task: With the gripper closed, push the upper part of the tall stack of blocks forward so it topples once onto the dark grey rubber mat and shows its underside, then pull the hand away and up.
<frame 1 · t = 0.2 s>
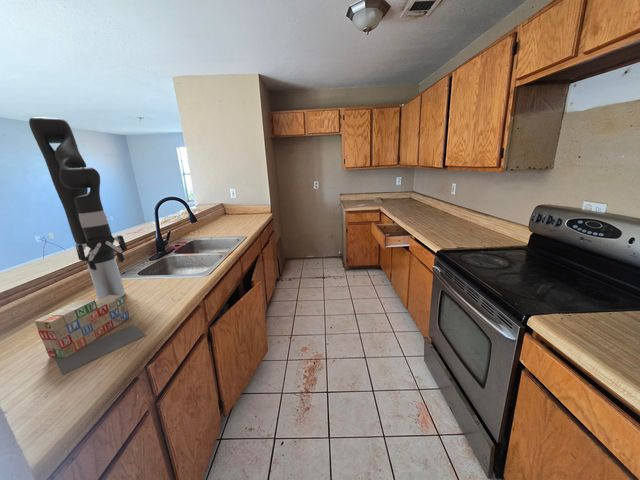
hand: (108, 265, 98), 18 cm above the counter, tool pointing down, fingers open, 8 cm apart
stack of blocks: (94, 336, 86), on the counter, touching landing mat
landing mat: (102, 346, 80), on the counter
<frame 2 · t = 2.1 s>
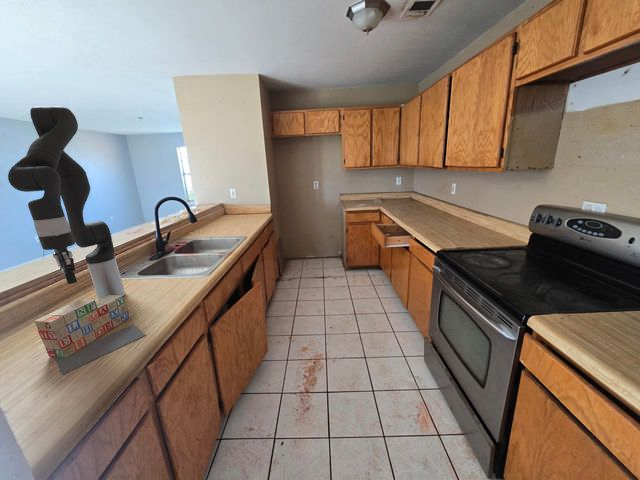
hand: (72, 282, 86), 17 cm above the counter, tool pointing down, fingers closed
nothing on the counter moved.
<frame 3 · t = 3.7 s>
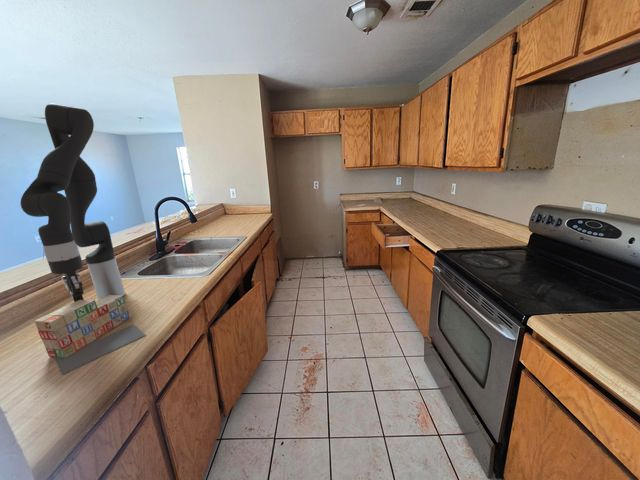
hand: (80, 305, 86), 10 cm above the counter, tool pointing down, fingers closed
stack of blocks: (94, 336, 86), on the counter, touching gripper, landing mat
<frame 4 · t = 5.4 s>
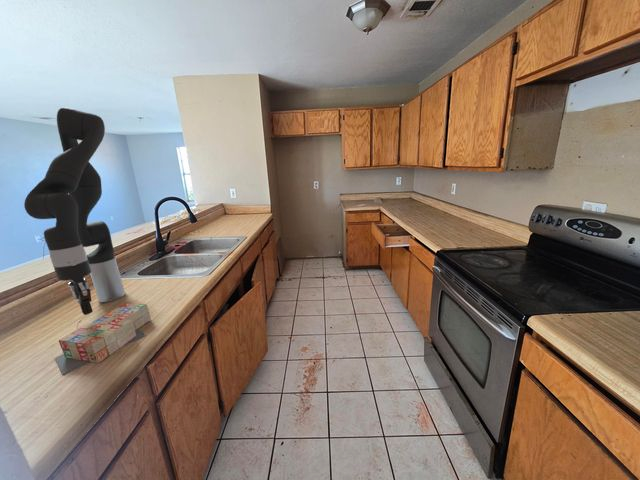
hand: (88, 313, 81), 10 cm above the counter, tool pointing down, fingers closed
stack of blocks: (98, 327, 84), point 3 cm above the counter, touching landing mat
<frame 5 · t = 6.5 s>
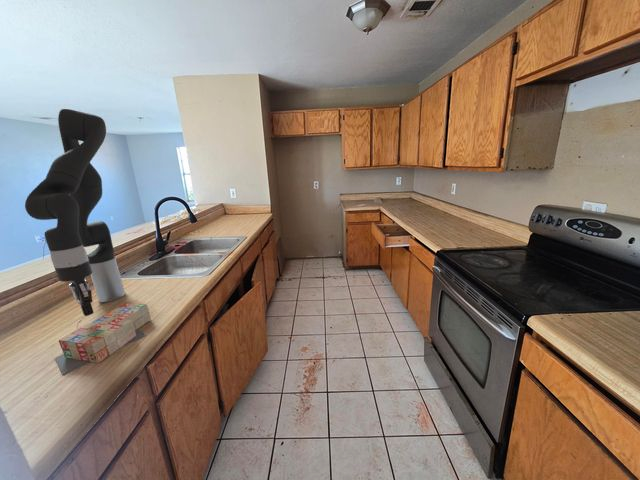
hand: (88, 314, 81), 10 cm above the counter, tool pointing down, fingers closed
nothing on the counter moved.
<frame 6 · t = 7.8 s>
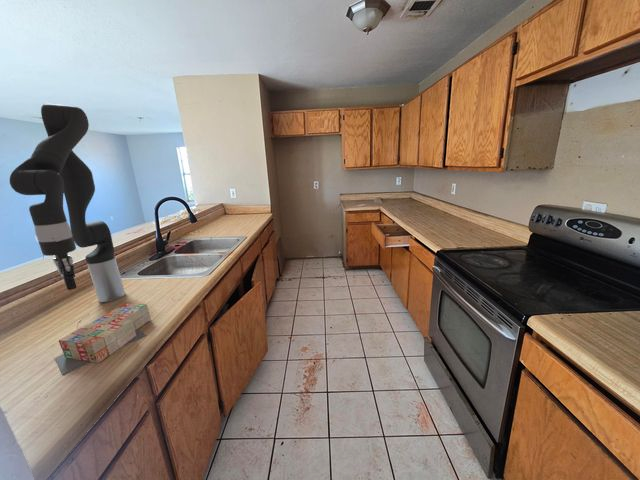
hand: (72, 288, 84), 16 cm above the counter, tool pointing down, fingers closed
nothing on the counter moved.
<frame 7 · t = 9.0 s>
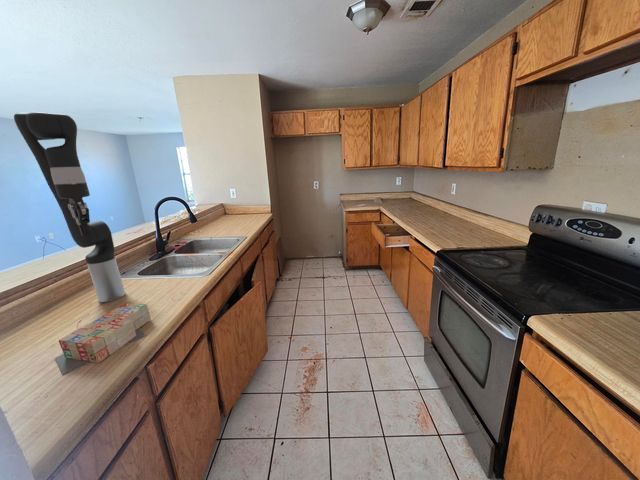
hand: (86, 235, 86), 32 cm above the counter, tool pointing down, fingers closed
nothing on the counter moved.
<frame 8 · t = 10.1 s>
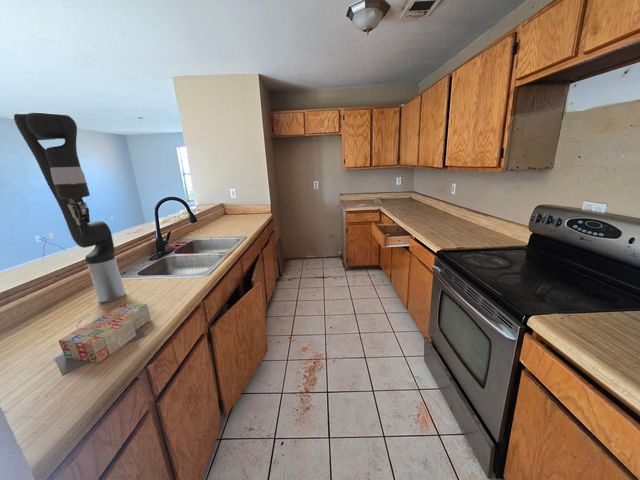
hand: (86, 235, 86), 32 cm above the counter, tool pointing down, fingers closed
nothing on the counter moved.
at the end: stack of blocks tilted 90°; stack of blocks inside the target area (2.2 cm from its centre), point 3.4 cm above the counter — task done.
